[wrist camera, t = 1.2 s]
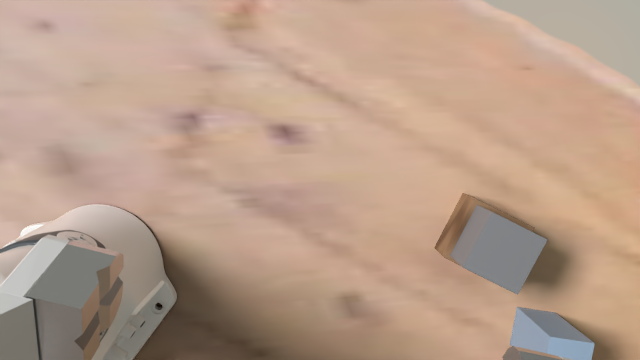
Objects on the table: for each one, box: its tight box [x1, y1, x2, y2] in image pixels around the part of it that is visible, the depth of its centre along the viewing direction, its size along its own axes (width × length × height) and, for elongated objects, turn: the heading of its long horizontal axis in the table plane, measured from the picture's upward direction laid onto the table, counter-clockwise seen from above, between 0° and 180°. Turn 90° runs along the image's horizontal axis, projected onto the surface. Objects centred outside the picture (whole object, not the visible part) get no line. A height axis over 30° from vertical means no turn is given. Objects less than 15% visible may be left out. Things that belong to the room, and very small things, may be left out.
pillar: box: [510, 307, 595, 360], centre depth 58 cm, size 4×4×9 cm
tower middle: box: [450, 205, 547, 294], centre depth 54 cm, size 6×6×5 cm
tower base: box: [435, 193, 534, 266], centre depth 59 cm, size 7×7×5 cm
